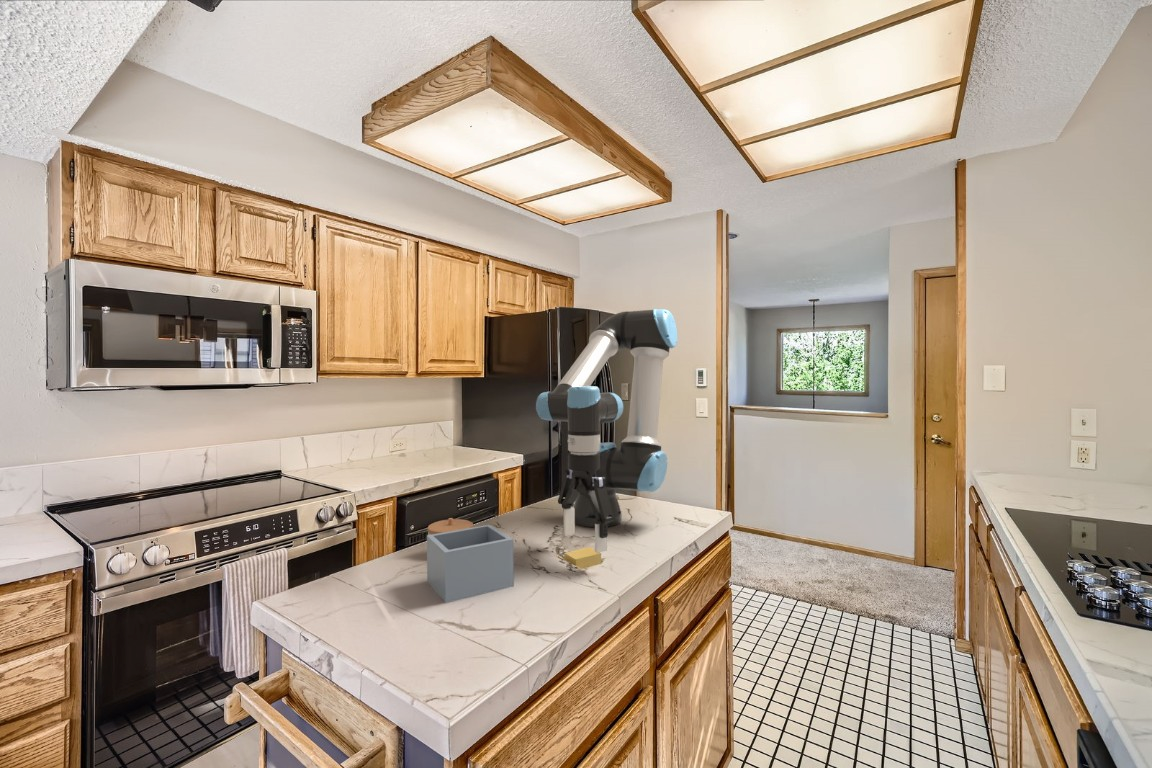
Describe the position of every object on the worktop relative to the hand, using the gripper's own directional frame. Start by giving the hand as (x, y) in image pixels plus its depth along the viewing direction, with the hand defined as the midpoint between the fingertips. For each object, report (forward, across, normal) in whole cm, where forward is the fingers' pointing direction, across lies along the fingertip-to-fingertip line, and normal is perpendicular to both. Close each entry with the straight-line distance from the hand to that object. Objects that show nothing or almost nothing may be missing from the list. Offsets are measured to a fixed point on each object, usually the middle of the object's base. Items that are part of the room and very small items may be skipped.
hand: (584, 543), depth 119 cm
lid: (+5, 0, -7) cm, 9 cm away
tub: (+5, 0, -28) cm, 28 cm away
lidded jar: (+5, -21, -25) cm, 33 cm away
